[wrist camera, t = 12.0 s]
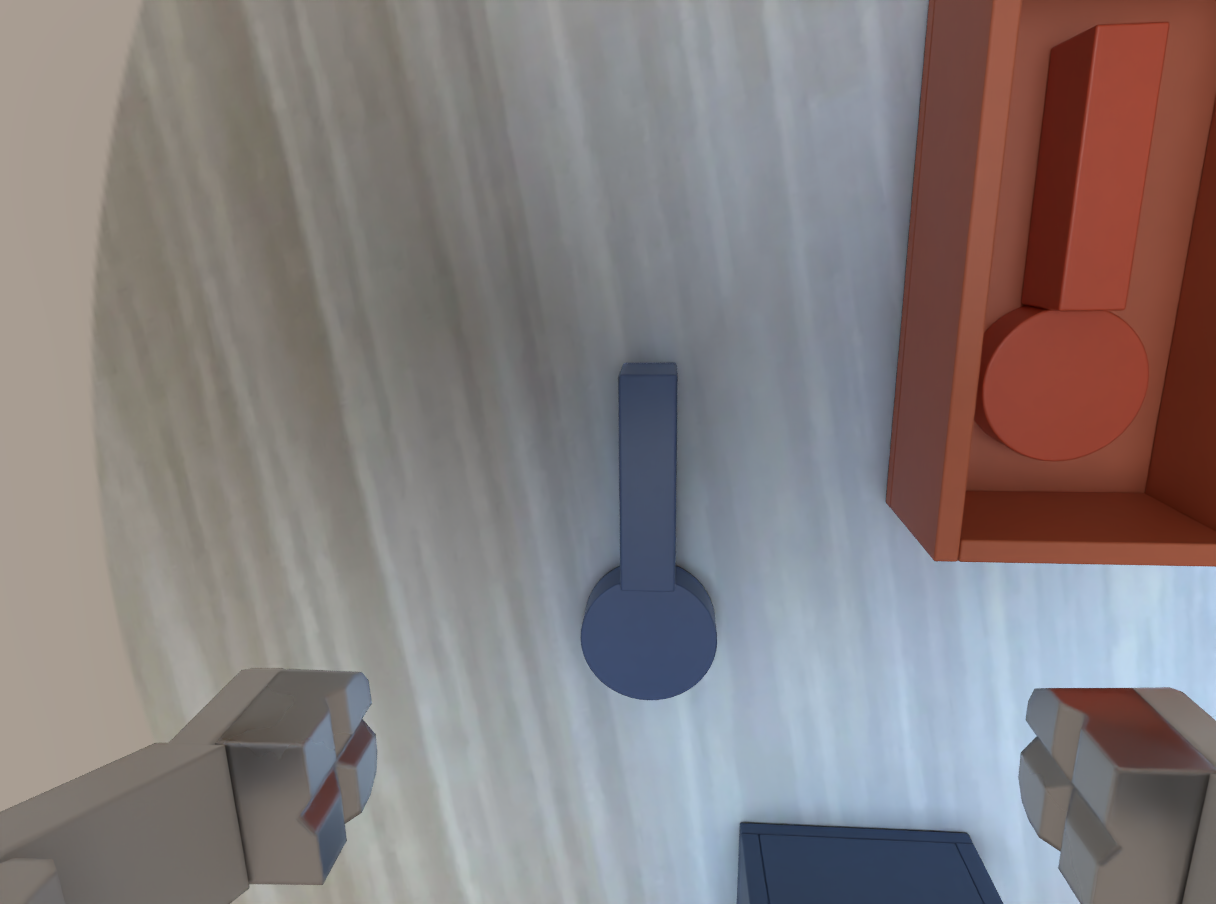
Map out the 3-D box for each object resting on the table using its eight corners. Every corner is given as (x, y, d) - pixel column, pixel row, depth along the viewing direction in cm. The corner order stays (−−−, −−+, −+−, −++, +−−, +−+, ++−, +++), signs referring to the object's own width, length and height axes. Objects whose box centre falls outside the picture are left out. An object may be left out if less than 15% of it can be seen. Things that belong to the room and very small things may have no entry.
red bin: (885, 502, 23) (933, 562, 19) (930, -24, 20) (1003, -99, 15) (1151, 506, 23) (1264, 568, 18) (1251, -37, 19) (1421, -118, 15)
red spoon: (997, 49, 20) (1036, 26, 17) (1171, 42, 19) (1233, 18, 17) (956, 448, 22) (986, 470, 20) (1107, 449, 22) (1155, 471, 20)
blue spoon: (579, 362, 23) (570, 374, 21) (721, 362, 23) (726, 374, 21) (586, 674, 26) (579, 713, 24) (713, 678, 25) (716, 718, 23)
